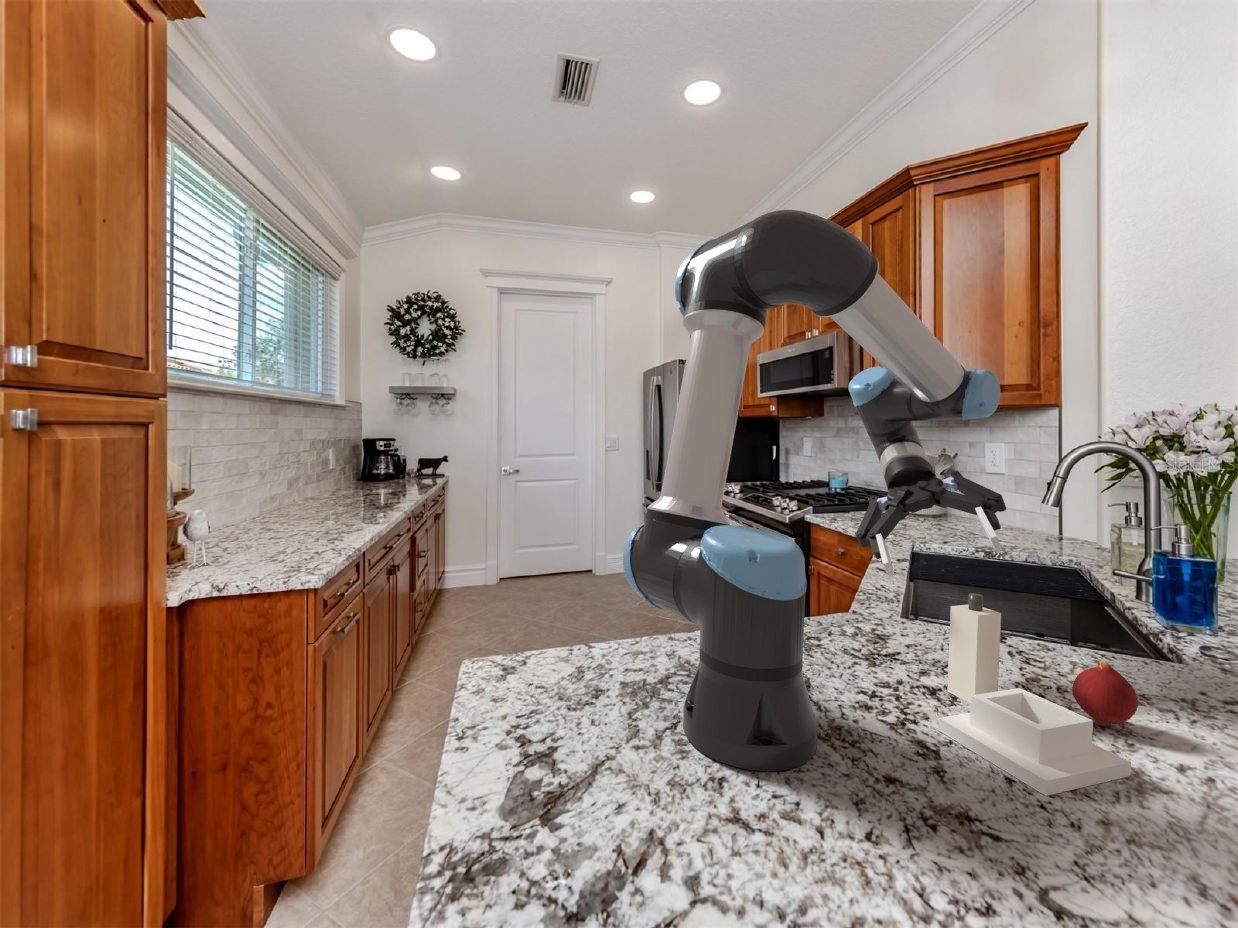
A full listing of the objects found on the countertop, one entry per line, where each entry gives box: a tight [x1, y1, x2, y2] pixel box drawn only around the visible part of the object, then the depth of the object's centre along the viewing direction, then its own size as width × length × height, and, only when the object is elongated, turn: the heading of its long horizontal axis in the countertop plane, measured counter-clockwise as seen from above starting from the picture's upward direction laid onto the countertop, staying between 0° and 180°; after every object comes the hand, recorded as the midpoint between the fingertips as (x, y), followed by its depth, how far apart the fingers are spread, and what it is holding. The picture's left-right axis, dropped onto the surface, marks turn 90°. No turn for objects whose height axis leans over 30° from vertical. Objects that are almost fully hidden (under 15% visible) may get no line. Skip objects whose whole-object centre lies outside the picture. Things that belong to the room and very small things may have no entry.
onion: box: [1071, 660, 1139, 727], centre depth 63 cm, size 6×6×8 cm
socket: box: [937, 687, 1132, 797], centre depth 57 cm, size 12×12×5 cm
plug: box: [946, 592, 1002, 705], centre depth 70 cm, size 4×4×14 cm
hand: (940, 557), depth 72 cm, fingers open, 13 cm apart
